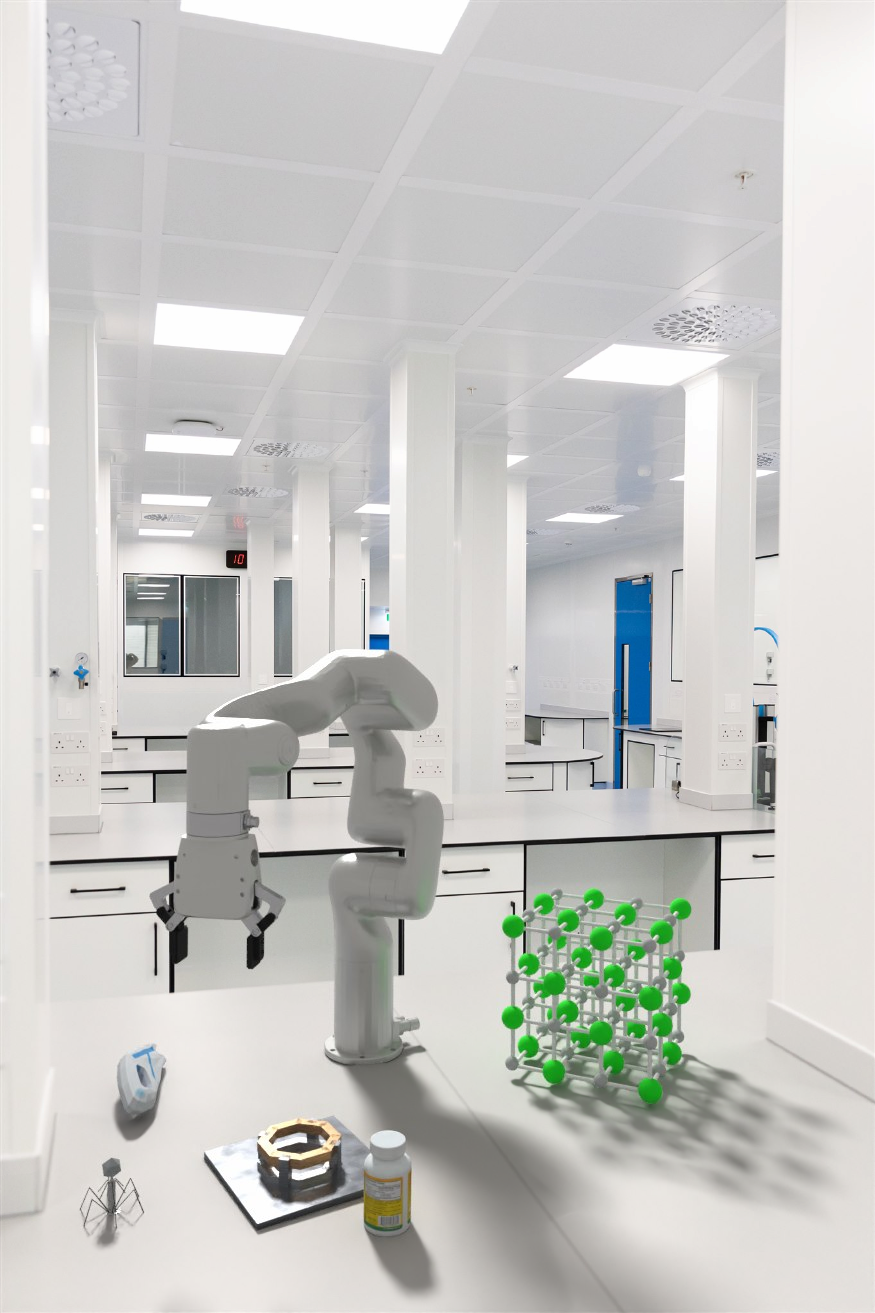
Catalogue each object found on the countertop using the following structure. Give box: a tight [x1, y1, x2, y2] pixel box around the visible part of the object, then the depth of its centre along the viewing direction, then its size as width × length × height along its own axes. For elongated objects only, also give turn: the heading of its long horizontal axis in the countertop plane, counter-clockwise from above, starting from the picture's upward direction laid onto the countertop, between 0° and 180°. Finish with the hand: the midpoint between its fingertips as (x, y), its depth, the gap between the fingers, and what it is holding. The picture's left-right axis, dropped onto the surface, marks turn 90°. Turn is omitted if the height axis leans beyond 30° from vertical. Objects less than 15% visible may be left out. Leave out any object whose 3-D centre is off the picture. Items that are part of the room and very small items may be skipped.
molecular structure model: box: [501, 887, 692, 1105], centre depth 153 cm, size 24×25×24 cm
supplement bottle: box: [363, 1129, 413, 1238], centre depth 109 cm, size 5×5×10 cm
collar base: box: [203, 1115, 371, 1231], centre depth 120 cm, size 18×18×4 cm
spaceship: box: [116, 1043, 167, 1116], centre depth 141 cm, size 23×7×4 cm
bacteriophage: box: [79, 1157, 145, 1229], centre depth 111 cm, size 7×8×7 cm
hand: (216, 963), depth 120 cm, fingers open, 9 cm apart
